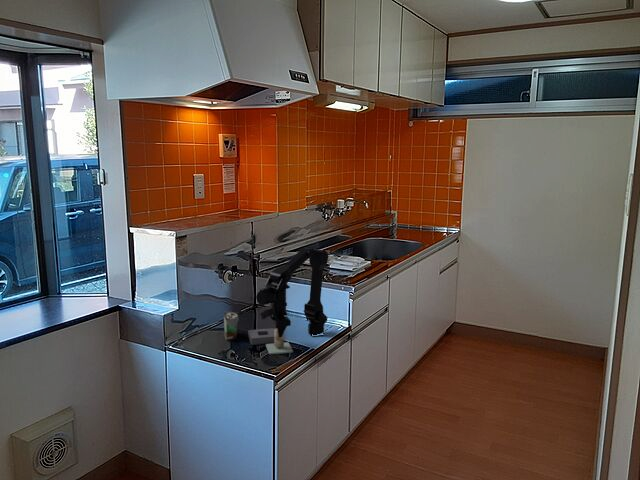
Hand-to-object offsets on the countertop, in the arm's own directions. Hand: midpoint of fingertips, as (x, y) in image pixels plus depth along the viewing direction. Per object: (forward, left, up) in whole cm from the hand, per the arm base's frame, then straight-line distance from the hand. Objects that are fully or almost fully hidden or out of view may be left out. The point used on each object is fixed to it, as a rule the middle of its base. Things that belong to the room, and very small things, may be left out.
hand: (279, 335), depth 211 cm
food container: (+18, -19, -6) cm, 27 cm away
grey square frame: (+5, -12, -6) cm, 14 cm away
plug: (0, 0, -4) cm, 4 cm away
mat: (0, 0, -6) cm, 6 cm away
